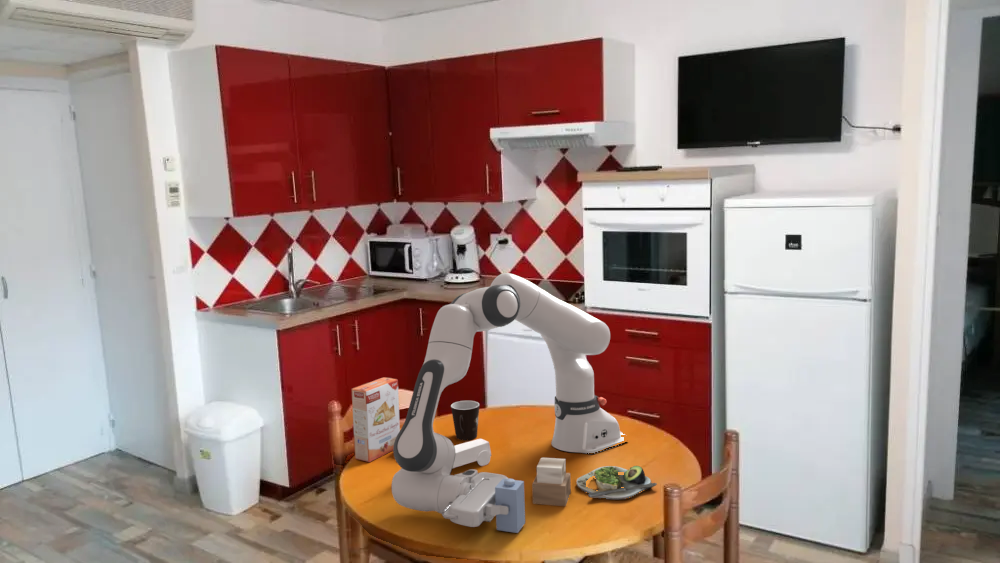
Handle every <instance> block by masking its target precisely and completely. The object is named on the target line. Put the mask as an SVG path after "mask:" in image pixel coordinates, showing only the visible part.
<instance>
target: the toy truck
mask: <svg viewBox="0 0 1000 563" xmlns="http://www.w3.org/2000/svg"><path fill="white" fill-rule="evenodd" d="M454 447H455V460H454V464H453V467H452V469H455V468H458V467H461V466H464V465H467V464H470V463H474V462H477V464H478V465H479V466H481V467H484V466H487V465H489V463H490V461H491V457H492V450H491V446H490V442H489V441H488V440H485V439H483V438H477V439H472V440H469V441H465V442H463V443H459V444H456V445H454Z"/></svg>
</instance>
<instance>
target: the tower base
mask: <svg viewBox="0 0 1000 563" xmlns="http://www.w3.org/2000/svg"><path fill="white" fill-rule="evenodd" d="M566 460H567V459H566V458H558V457H557V458H555V457H541V458H540V459H539V462H538V464H537V465H536V476H535V477H534V479H533V482H532V483H531V484H532V485H531V486H532V487H531V488H532V504H533V505H545V506H546V505H547V506H559V507H566V506H567V503H568V501H569V499H568V498H570V496H569V495H571V494H572V482H571V472H567V470H566V467H567V466H566Z"/></svg>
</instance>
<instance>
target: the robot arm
mask: <svg viewBox="0 0 1000 563" xmlns="http://www.w3.org/2000/svg"><path fill="white" fill-rule="evenodd" d="M514 321H517V322H518V323H521V324H522V325H523V326H526V327H527V328H529V329H531V330H532V331H534V332H536V333H538V334H540V336H541V337H542V338H543V340H544V342H545V343H546V346H547V348H548V352H549V354H550V358H551V360H552V365H553V370H554V378H555V396H554V416H555V421H554V422H555V423H554V429H553V436H552V439H551V442H550V443H551V446H552V447H553V448H555V449H557V450H560V451H564V452H568V453H580V454H581V453H582V454H587V453H588V455H590V454H589V453H594V454H596V453H595V452H597V453H599V452H598V451H600V450H603V449H605V448H608V447H611V446H613V445H615V444H617V443H620V442H622V441H624V437H621V435H626V434H625V433H624V434H623V432H622V431H621V430H620V429H621V428H620V424H619V422H618V421H617V419H616V418H615V417H614V416H613V415H612V414H610V413H609V412H607V411H606V410H604V409H603V408H601V406H605V405H606V404H607V399H606V398H604V397H602V396H600V397H599V396H598V395H596V394H595V373H594V370H593V367H592V365H591V364H590V363H589V361H588V359H587V356H596V355H600V354H602V353H604V352H605V351H606V350H607V348H608V347H609V344H610V340H611V331H610V328H609V326H608V325H607V324H606V322H604V321H602V320H600V319H598V318H596V317H594V316H593V315H592V314H589V313H588V312H586V311H584V310H581V309H580V308H578V307H576V306H574V305H573V304H570V303H567V302H566V301H564V300H562V299H561V298H560V299H559V297H556V296H554V295H552V294H551V293H549V292H548V291H546V290H545V289H543V288H542V287H540V286H538V285H537V284H535V283H533V282H531V281H530V280H528V279H525V277H521V276H519V275H516V274H514V273H509V272H503V273H501V274H499V275H497V276H496V277H495V278H493V280H492V282H491V284H490V286H485V287H481V288H475V289H474V290H471V291H469V292H467V293H466V292H465V293H462V294H459V295H458V296H456V297H455V298H454V299H453V300H452V301H451V303H449V304H445V305H442V307H440V309H439V310H438V311H437V313H436V315H435V318H434V321H433V323H432V326H431V330H430V334H429V339H428V344H427V349H426V353H425V357H424V362H423V364H422V366H421V368H420V370H419V372H418V375H417V378H416V381H415V384H414V388H413V392H412V395H411V398H410V403H409V406H408V410H407V415H406V417H405V420H404V423H403V425H402V426H401V427H400V428H401V429H400V431H399V433H398V435H397V437H396V439H395V442H394V447H393V451H392V452H393V457H394V460H395V462H396V463H397V465H398V466H399V467H400V469H399V470H398V471H397V472H395V474H394V475H393V477H392V480H391V494H392V496H393V499H394V501H395V502H396V503H397V504H398V505H400V506H402V507H404V508H407V509H411V510H416V511H419V512H420V511H421V512H436V513H439V514H440V515H441V516H442V517H443V518H444V519H447V520H450V522H451V523H454V524H458V525H461V526H465V527H469V528H475V527H480V525H481V524H482V523H483V522H484V521H483V520H484V519H485V518H486V517H487V516H488V515H489V516H493V515H495V516H496V515H499V514H504V515H507V514H508V513H509V511H510V505H508V504H502V505H496V500H495V487H496V486H497V485H498V484H499V482H500V481H501V480H502V479H509V477H507V475H504V474H500V473H493V472H487V471H484V472H483V471H481V472H478V470H477V469H473V468H471V469H468V470H465V471H463V472H460V473H457V474H454V475H453V474H452V469H453V468H452V467H453V464H454V460H455V447H454V446H455V445H454V443H453V442H452V440H451V439H450V438H448V437H447V436H445V435H443V434H440V433H437V432H435V431H434V420H435V416H436V413H437V408H438V405H439V401H440V397H441V395H442V392H443V391H444V389H445V388H446V387H448V386H450V385H452V384H454V383H457V382H459V381H461V380H462V379H463V378H464V377H465V376H467V372H468V370H469V367H470V364H471V359H472V355H473V354H472V353H473V346H474V338H475V335H476V333H477V332H487V331H490V330H493V329H497V328H499V327H500V328H502V327H505V326H507V325H509V324H511V323H512V322H514ZM600 405H601V406H600ZM603 451H604V450H603ZM600 452H601V451H600Z"/></svg>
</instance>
